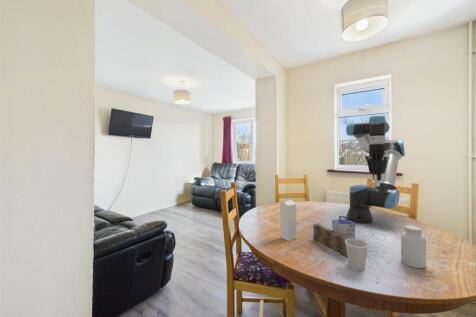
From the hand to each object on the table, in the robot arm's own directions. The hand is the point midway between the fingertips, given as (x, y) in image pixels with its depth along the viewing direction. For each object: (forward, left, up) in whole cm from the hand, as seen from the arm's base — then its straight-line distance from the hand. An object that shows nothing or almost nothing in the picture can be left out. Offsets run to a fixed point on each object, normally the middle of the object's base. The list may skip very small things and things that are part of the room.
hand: (376, 186), depth 120 cm
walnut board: (+5, -37, -26) cm, 46 cm away
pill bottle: (+29, -17, -27) cm, 43 cm away
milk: (-12, -50, -27) cm, 58 cm away
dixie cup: (+22, -40, -27) cm, 53 cm away
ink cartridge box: (+7, -31, -27) cm, 41 cm away
